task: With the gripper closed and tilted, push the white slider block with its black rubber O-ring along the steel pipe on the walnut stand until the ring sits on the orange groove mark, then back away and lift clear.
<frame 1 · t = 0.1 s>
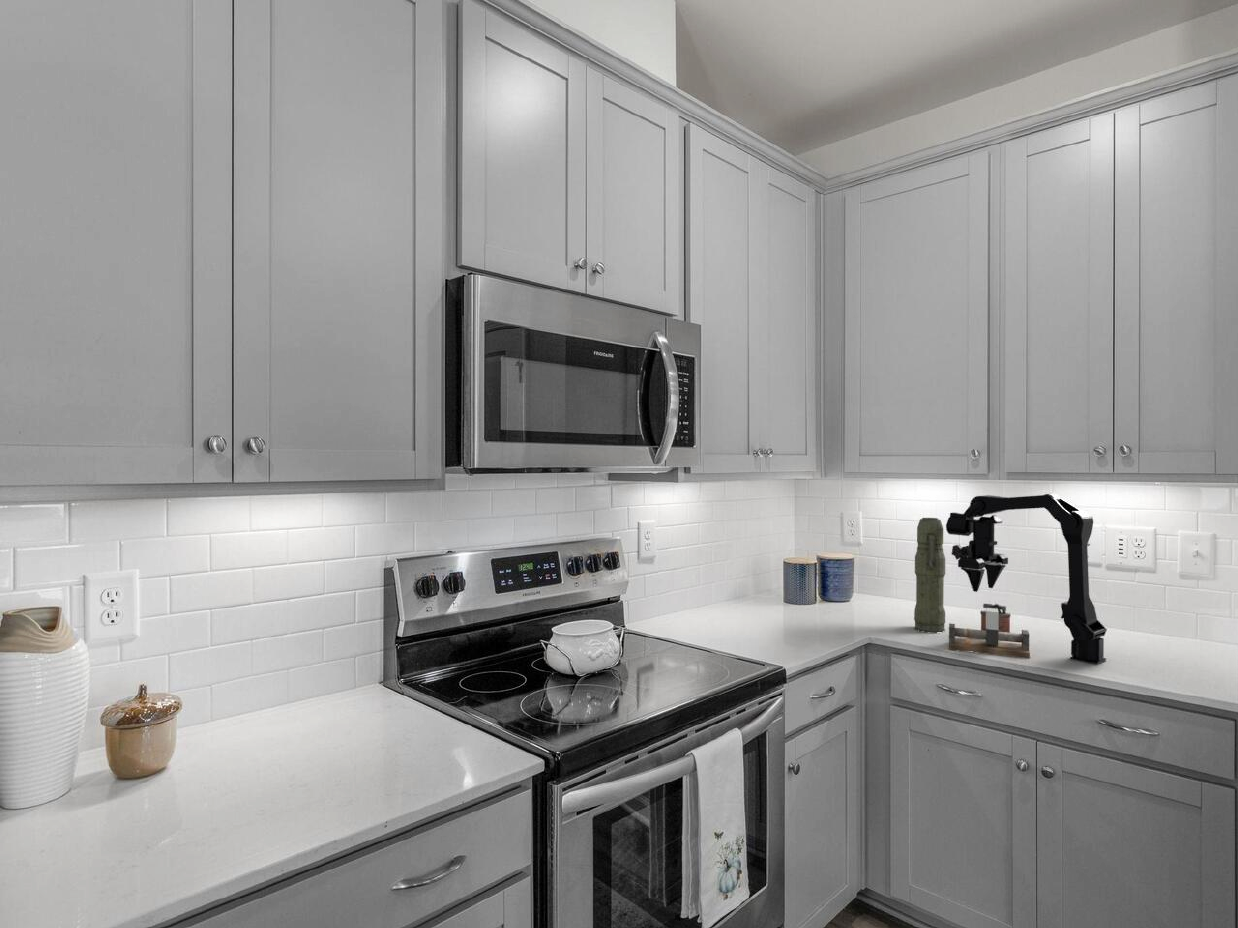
hand: (983, 589, 218), 15 cm above the worktop, tool pointing down, fingers open, 9 cm apart
lighter: (995, 637, 221), on the worktop
white slider block: (992, 626, 206), point 7 cm above the worktop, slide at 0.0 cm
thermos: (929, 630, 230), on the worktop
pipe stand: (987, 649, 206), on the worktop
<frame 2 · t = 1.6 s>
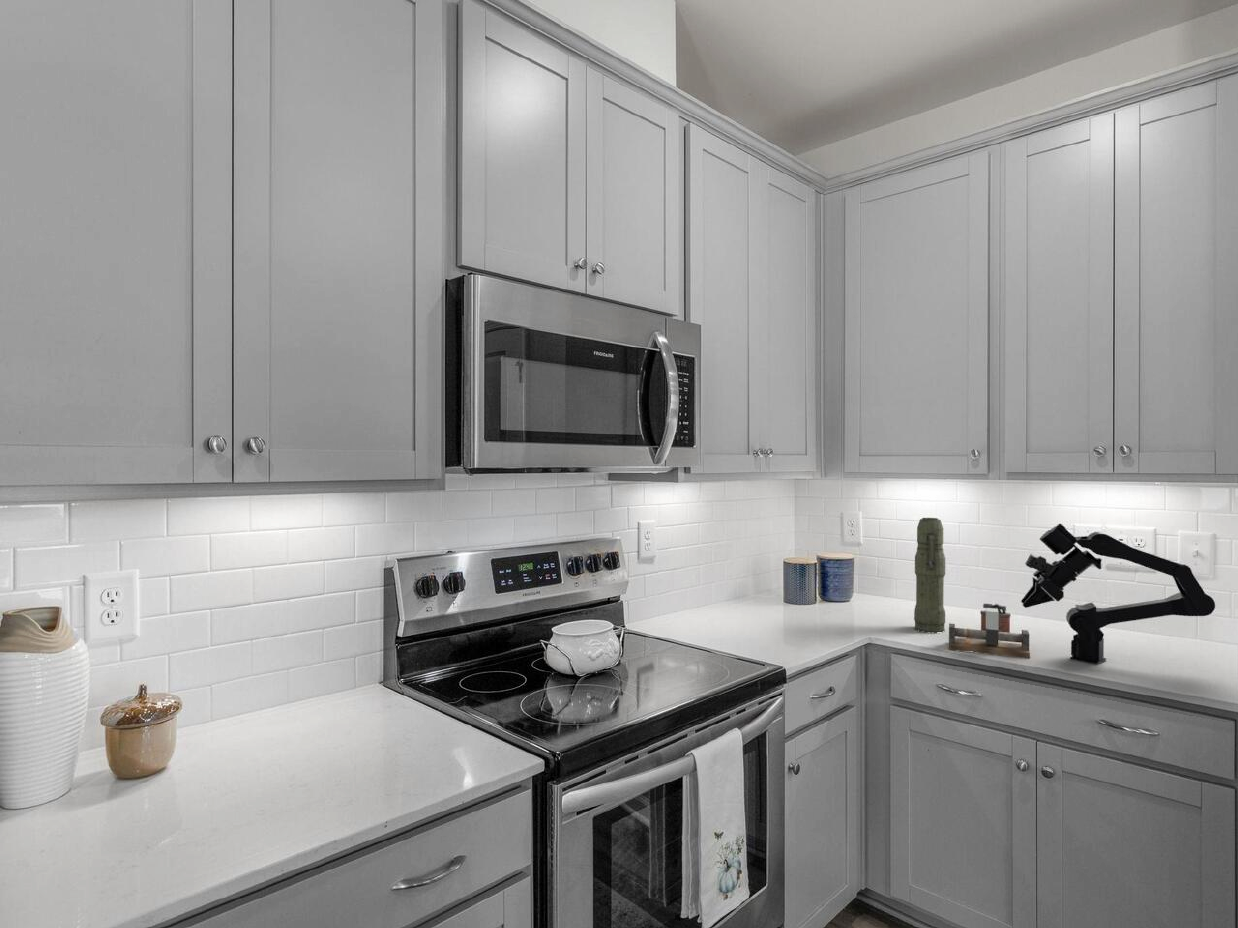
hand: (1023, 604, 202), 14 cm above the worktop, tool tilted 45°, fingers open, 5 cm apart
nothing on the worktop moved.
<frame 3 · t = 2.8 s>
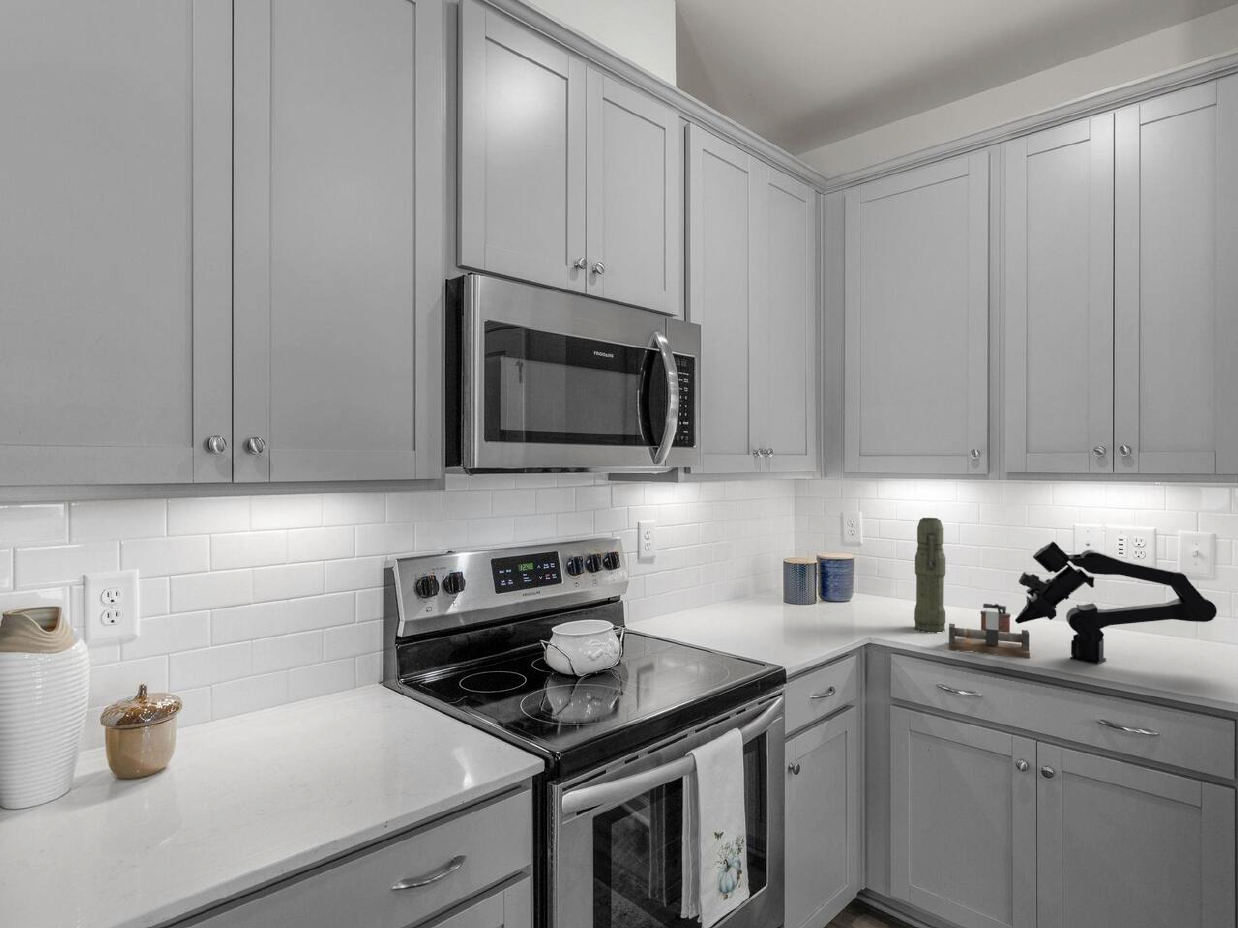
hand: (1016, 622, 203), 9 cm above the worktop, tool tilted 45°, fingers closed
nothing on the worktop moved.
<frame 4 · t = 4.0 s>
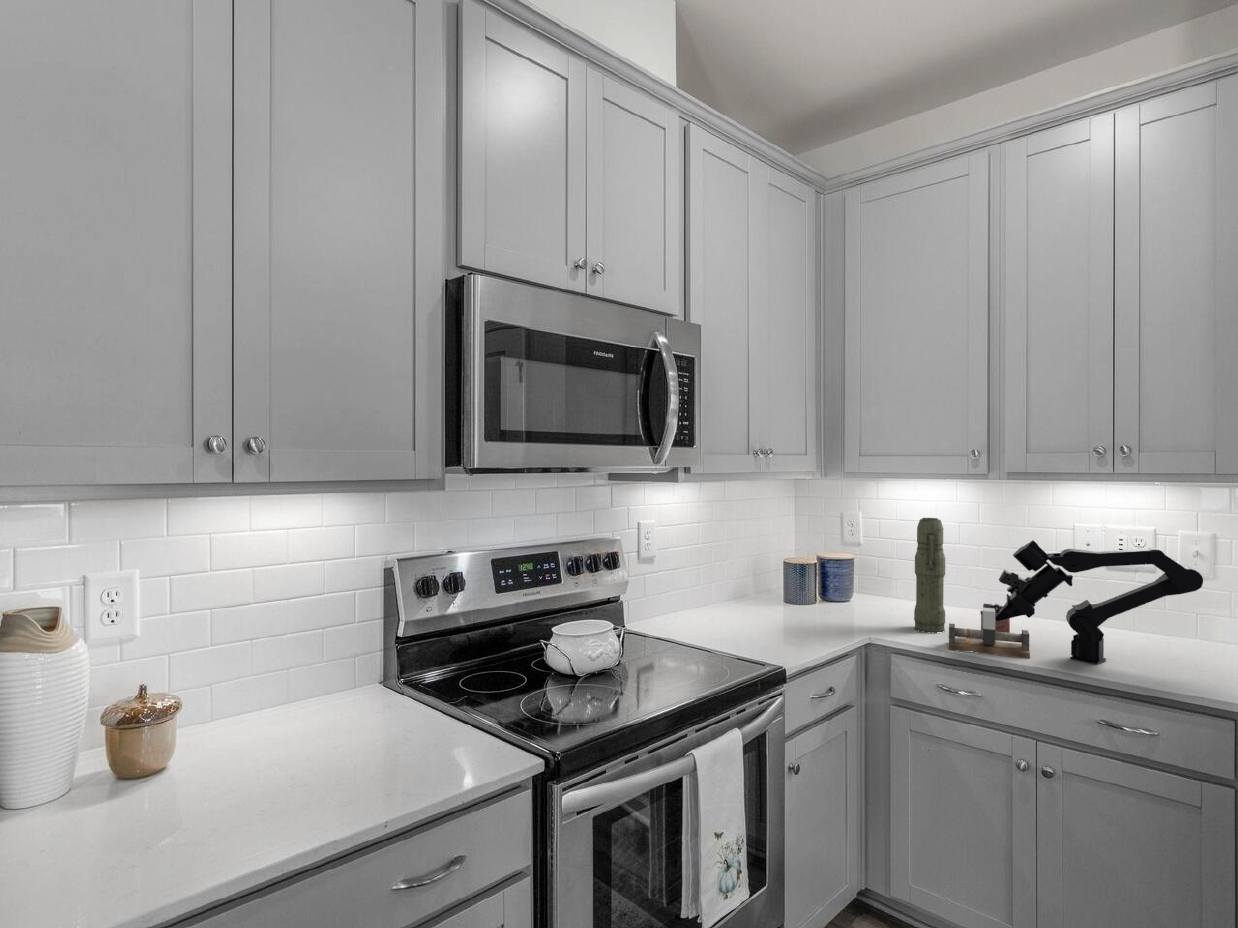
hand: (995, 619, 205), 9 cm above the worktop, tool tilted 45°, fingers closed, pressing on white slider block
white slider block: (988, 626, 206), point 7 cm above the worktop, slide at 0.8 cm, touching gripper
everything else where it was.
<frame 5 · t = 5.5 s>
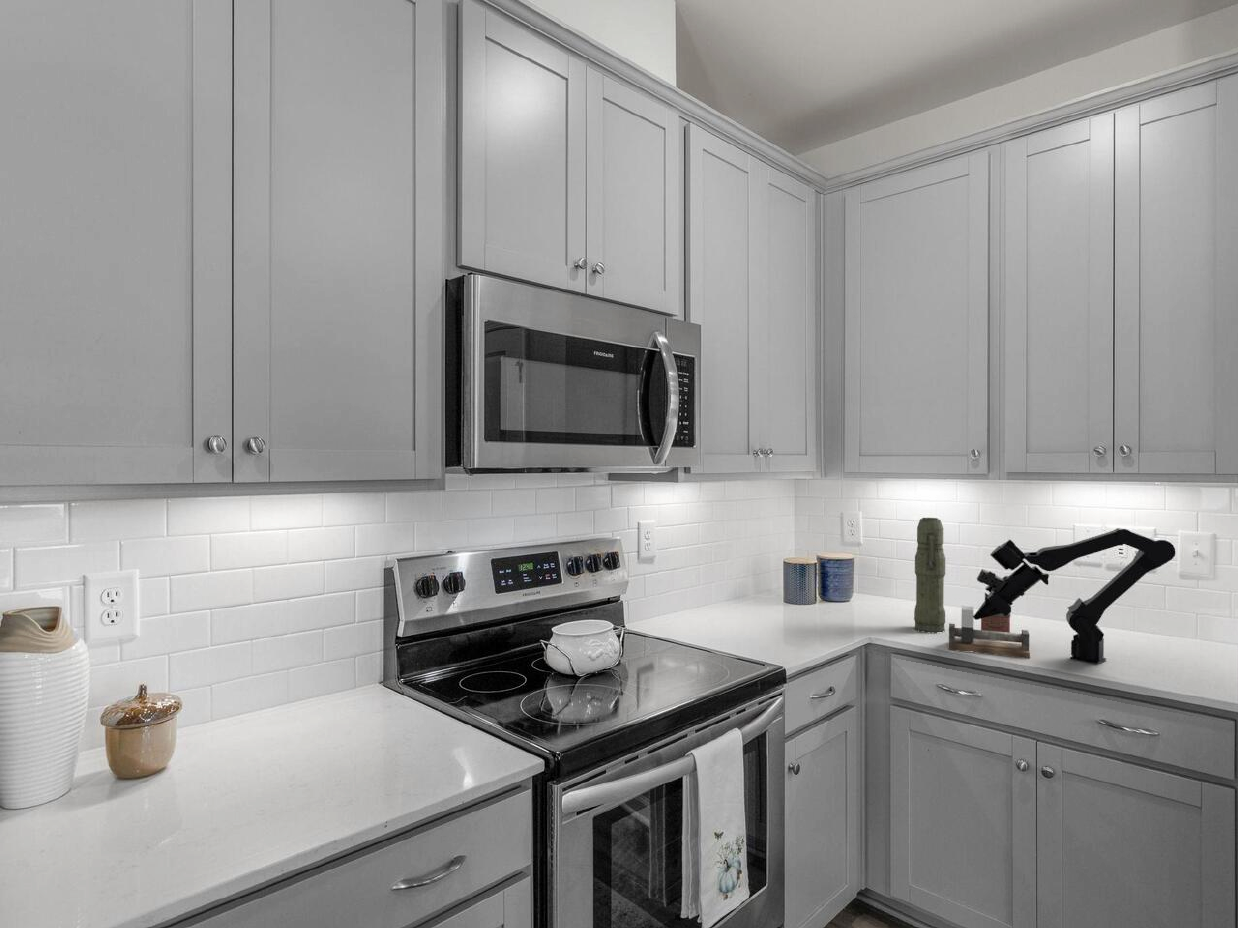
hand: (974, 618, 207), 9 cm above the worktop, tool tilted 45°, fingers closed, pressing on white slider block
white slider block: (967, 624, 208), point 7 cm above the worktop, slide at 6.3 cm, touching gripper
everything else where it was.
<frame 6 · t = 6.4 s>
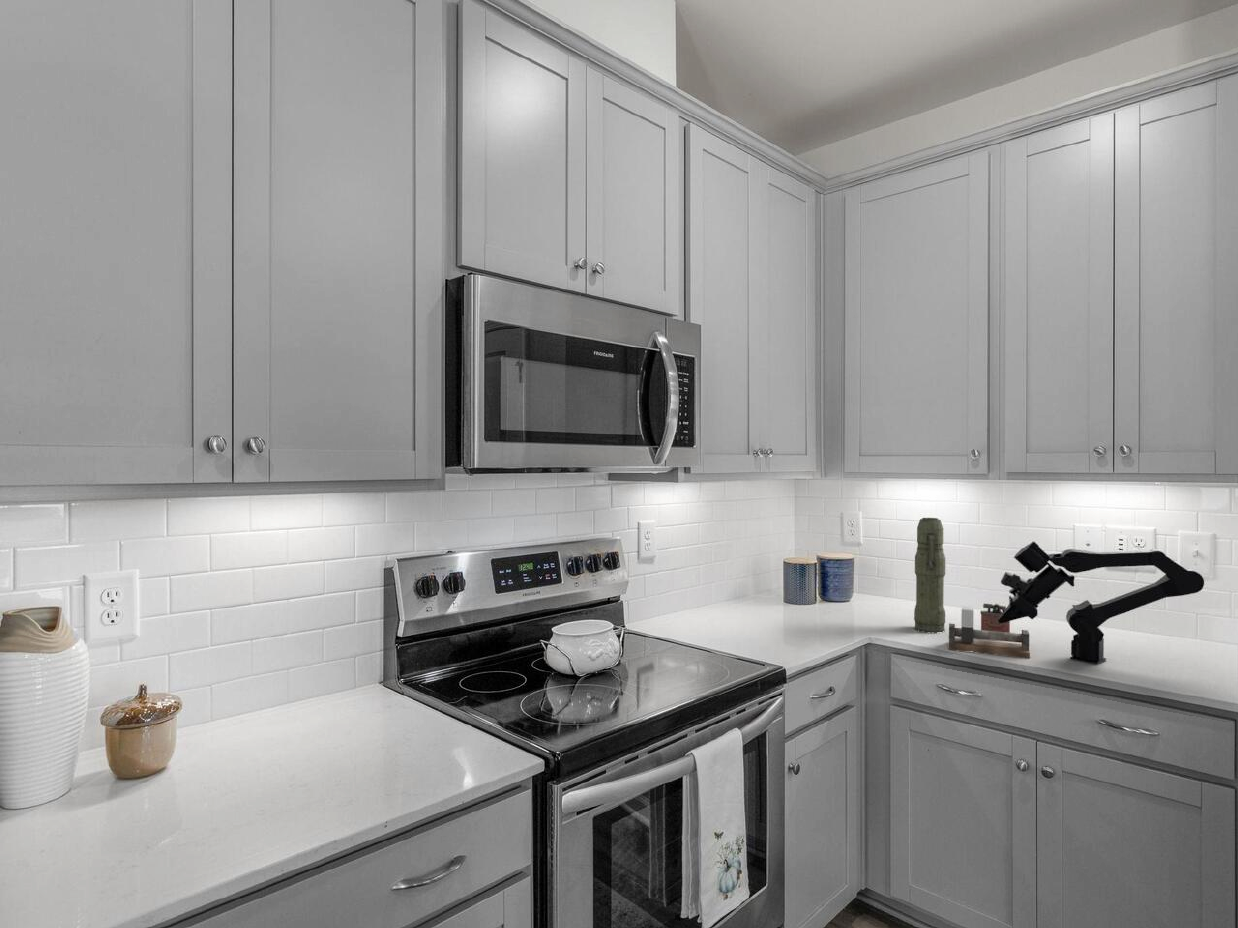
hand: (999, 621, 205), 8 cm above the worktop, tool tilted 45°, fingers closed
white slider block: (967, 624, 208), point 7 cm above the worktop, slide at 6.3 cm
everything else where it was.
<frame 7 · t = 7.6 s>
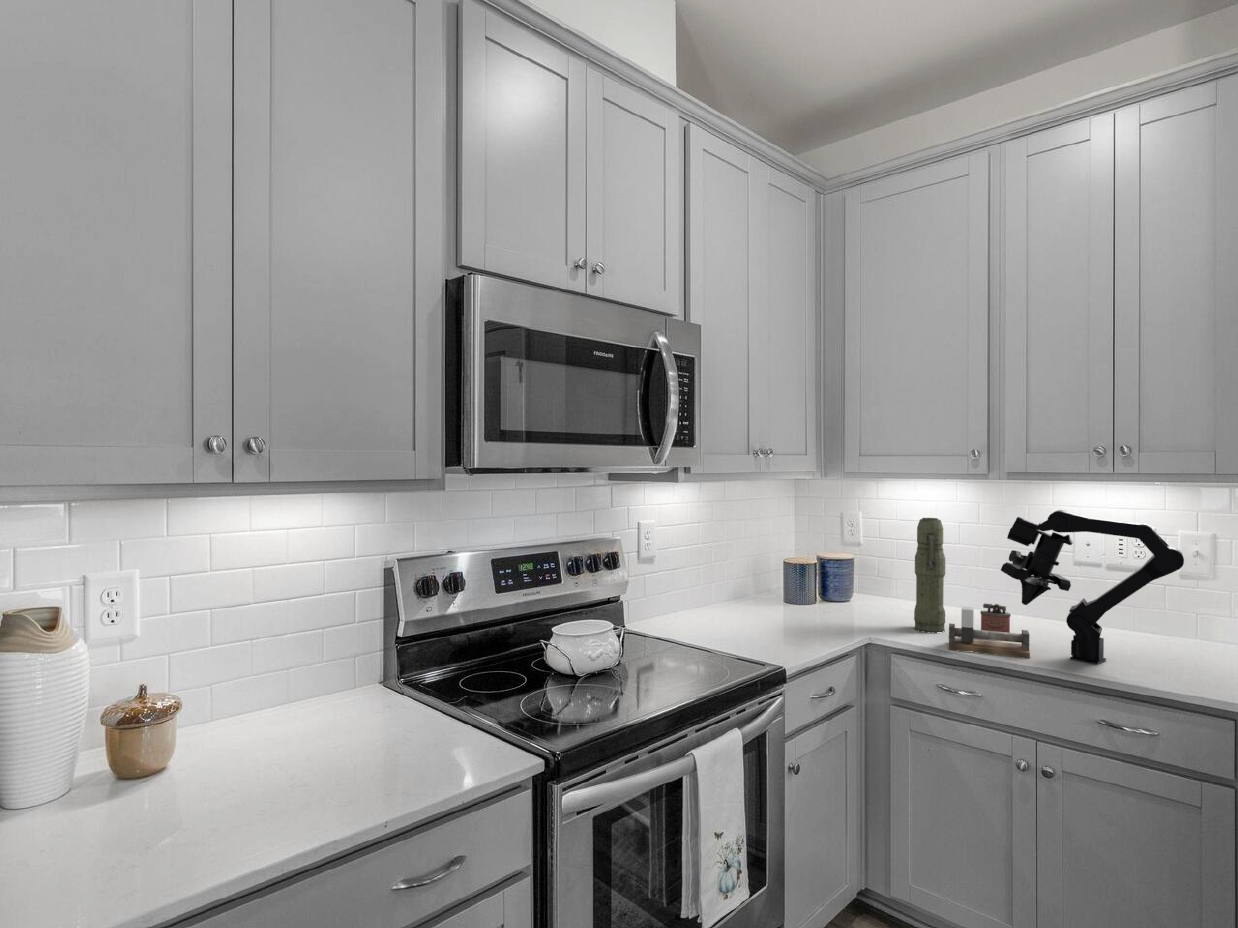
hand: (1024, 604, 205), 13 cm above the worktop, tool tilted 20°, fingers closed
nothing on the worktop moved.
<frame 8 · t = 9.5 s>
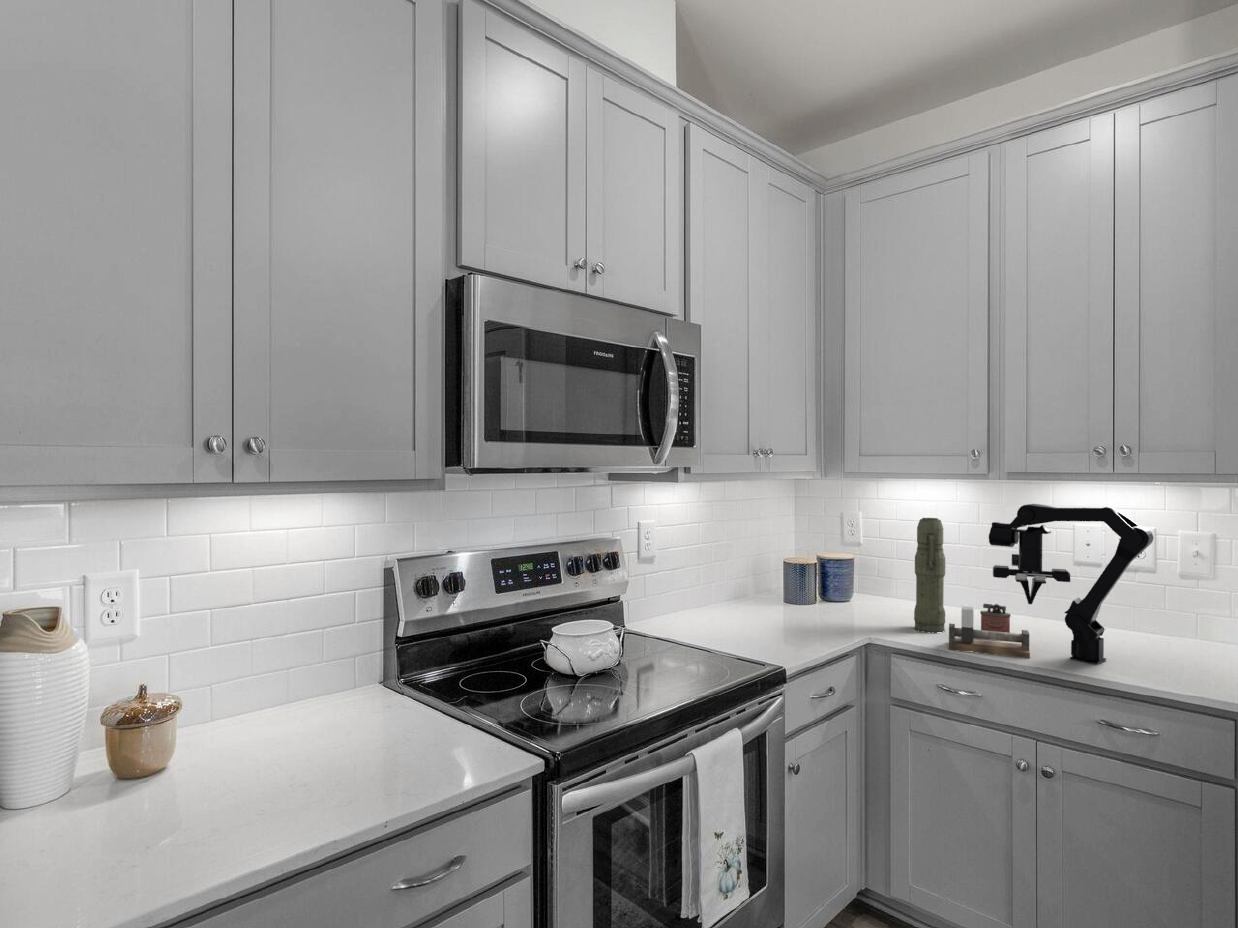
hand: (1030, 604, 206), 13 cm above the worktop, tool pointing down, fingers closed
nothing on the worktop moved.
at the end: white slider block slide at 6.3 cm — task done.
